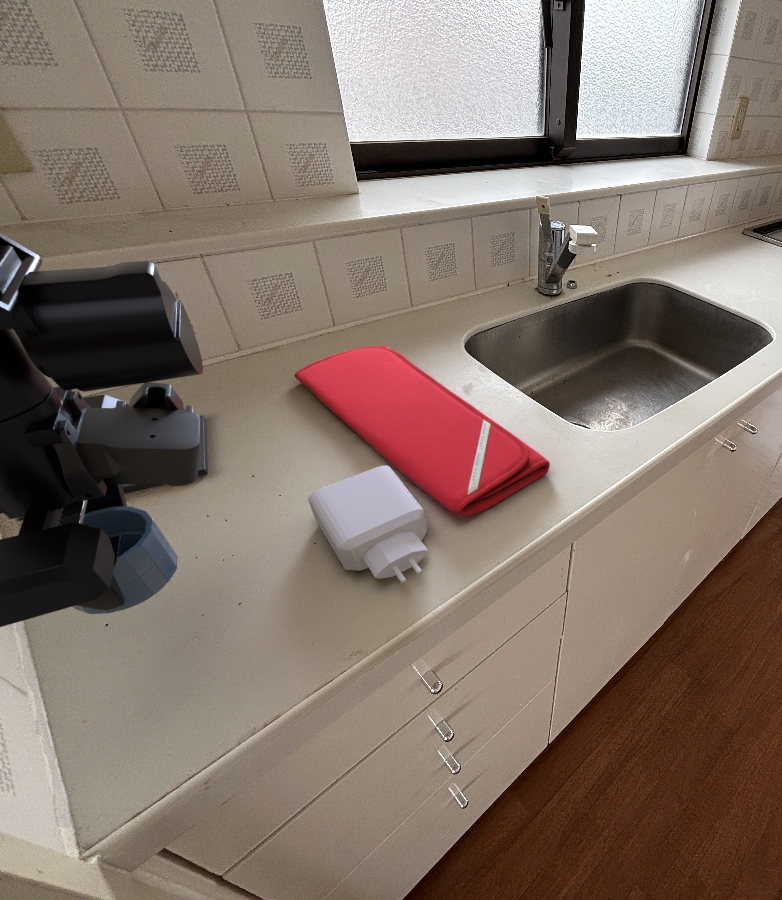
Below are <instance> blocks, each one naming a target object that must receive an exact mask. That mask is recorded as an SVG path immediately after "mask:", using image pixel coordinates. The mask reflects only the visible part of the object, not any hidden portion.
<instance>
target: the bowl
mask: <svg viewBox="0 0 782 900" xmlns="http://www.w3.org/2000/svg"><path fill="white" fill-rule="evenodd" d="M82 524H89V525H90V526H92V527H97V528H101V529H102V530H103V531H104V532H105V534H106V535H107V536H108V538H110V537H114V536H118V535H121V539H120V545H119V551H118V558H117V563H116V565H115V567H114V568H113V571H112V574H113V576H114V578H115V580H116V582H117V584H118V586H119V588H120V590H121V593H122V595H123V598H124V600H125V601H124V605H123V606H121V607H118V608H114V609H111V610H107V611H104V610H98V609H92V608H87V607H81V606H72V607H71V608H73V609H75V610H76V611H79V612H82V613H85V614H87V615H105V614H111V613H112V614H113V613H116V612H121V611H124V610H127V609H130V608H133V607H135V606H138V605H140V604H143V603H145V602H146V601H148V600H149V599H151V598H152V597H154V596H155V595H156V594H158V593H159V592H160V591H162V589H163V588H165V586H166V585H167V584H168V583H169V582H170V581H171V580H172V577H173V576H174V575H175V574H176V571H177V570H178V561H179V557H178V555H177V553H176V551H175V550H174V549H173V547H172V545H171V544H170V542H169V540H168V539H167V538H166V536H165V535H164V534H163V532H162V530H161V529H160V527H159V526H158V525H157V523H156V522H155V520H154V519H153V518H152V516H151V515H150V514H149V512H148V511H146V510H144V509H141V508H138V507H135V506H131V505H129V506H128V505H127V507H109V508H105V509H100V510H96V511H91V512H88V513H86V514H84V518H83V523H82Z"/></svg>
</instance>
